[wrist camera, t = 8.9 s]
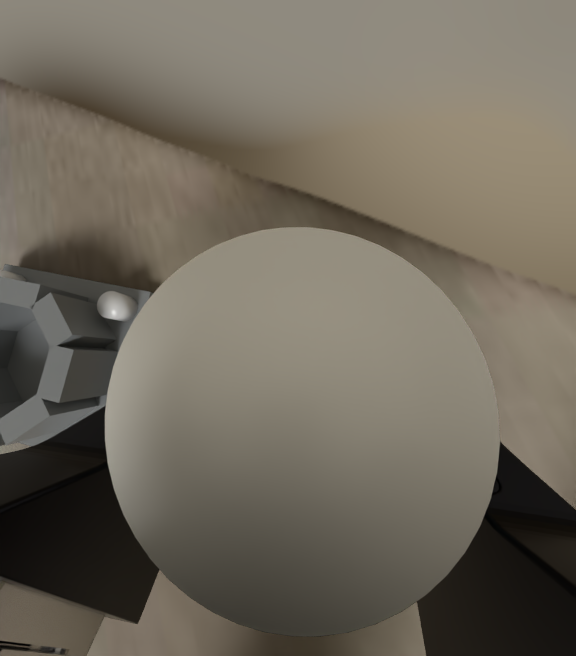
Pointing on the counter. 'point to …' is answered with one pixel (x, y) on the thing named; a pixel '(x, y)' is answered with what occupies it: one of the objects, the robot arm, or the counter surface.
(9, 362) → the housing
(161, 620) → the counter surface
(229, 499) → the ball
